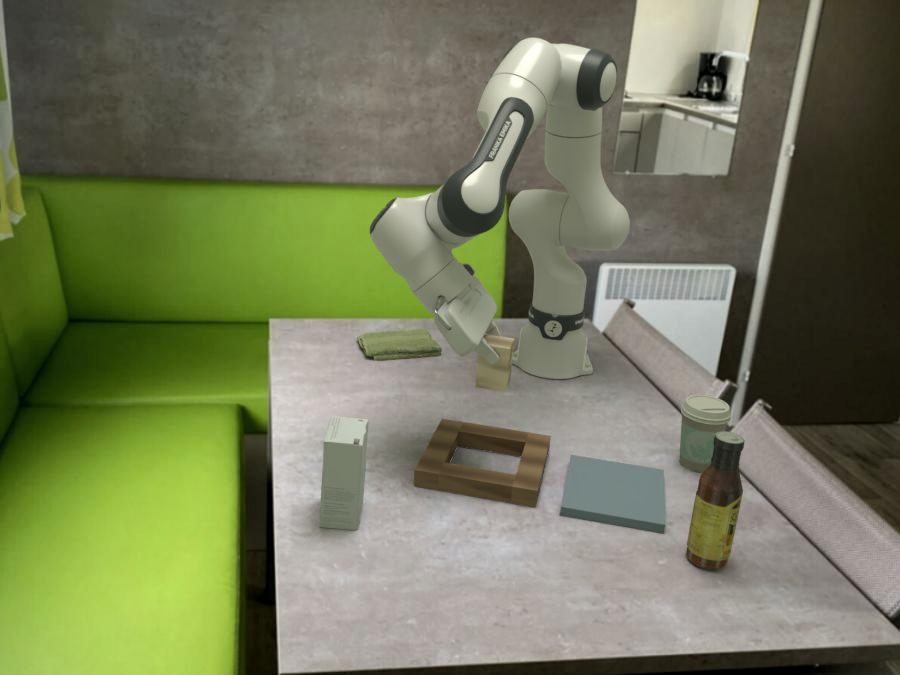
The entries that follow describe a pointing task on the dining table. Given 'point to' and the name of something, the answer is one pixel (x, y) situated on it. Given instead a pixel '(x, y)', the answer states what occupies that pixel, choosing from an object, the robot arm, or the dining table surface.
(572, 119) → the robot arm
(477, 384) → the maple peg
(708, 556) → the sauce bottle
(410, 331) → the washcloth
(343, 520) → the skincare box
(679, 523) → the dining table surface
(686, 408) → the coffee cup
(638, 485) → the slate pad
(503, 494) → the pocket block
